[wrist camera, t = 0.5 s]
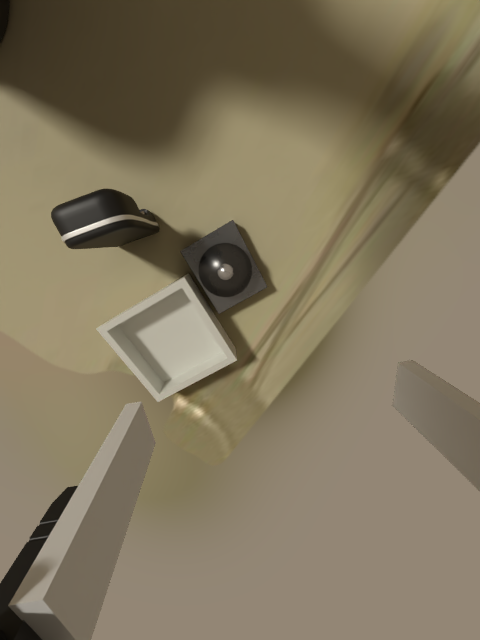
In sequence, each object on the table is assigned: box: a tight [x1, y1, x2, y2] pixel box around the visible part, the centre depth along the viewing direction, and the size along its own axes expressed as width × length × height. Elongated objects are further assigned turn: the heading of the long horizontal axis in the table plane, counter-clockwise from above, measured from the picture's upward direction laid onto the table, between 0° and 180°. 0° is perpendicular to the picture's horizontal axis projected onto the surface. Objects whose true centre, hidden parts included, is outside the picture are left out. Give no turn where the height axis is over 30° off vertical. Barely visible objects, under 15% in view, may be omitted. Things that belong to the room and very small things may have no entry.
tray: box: [96, 273, 237, 402], centre depth 34 cm, size 14×14×4 cm
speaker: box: [180, 220, 267, 314], centre depth 31 cm, size 10×8×4 cm
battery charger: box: [51, 189, 159, 249], centre depth 25 cm, size 7×4×11 cm, turn 109°
